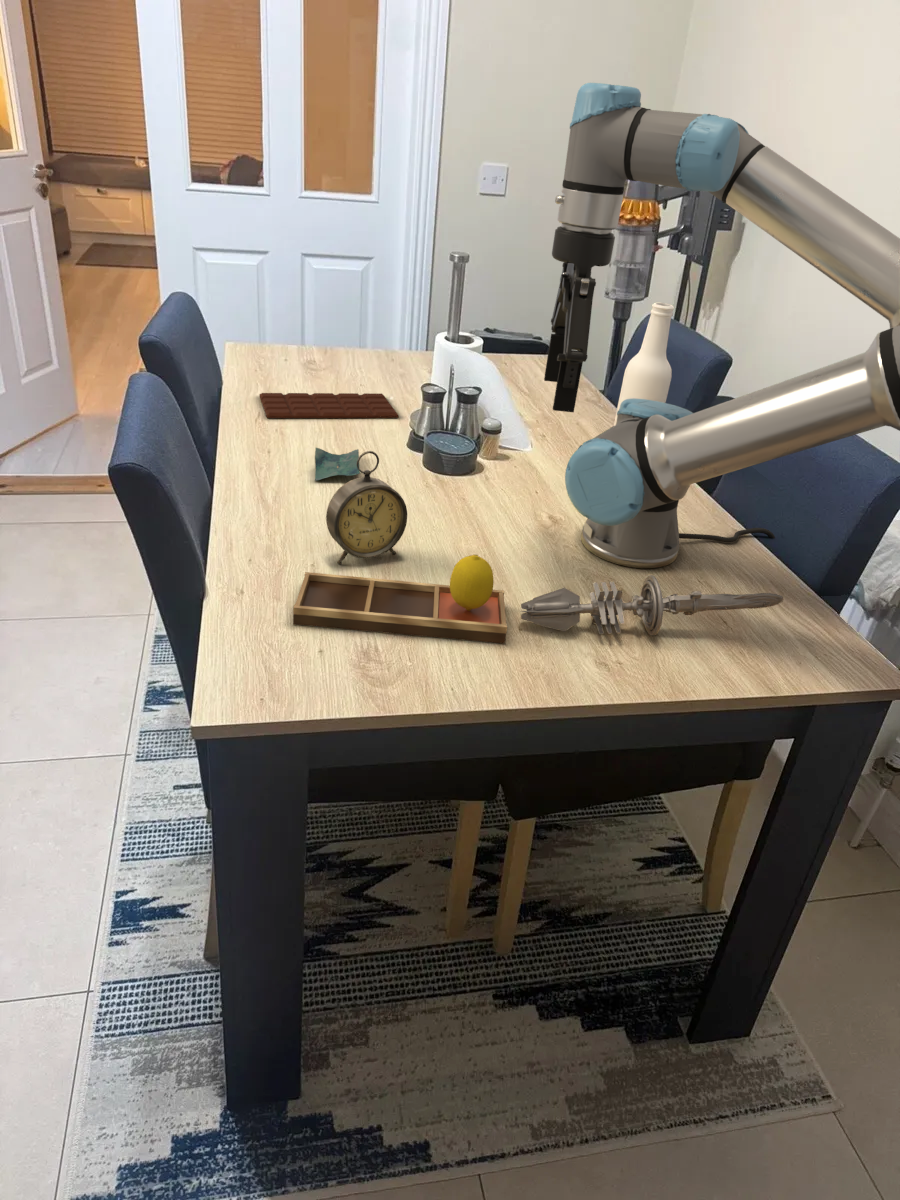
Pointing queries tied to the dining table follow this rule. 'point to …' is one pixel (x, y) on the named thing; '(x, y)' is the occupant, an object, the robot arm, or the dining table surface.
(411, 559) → the dining table surface
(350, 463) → the terrain model
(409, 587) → the wooden compartment tray
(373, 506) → the alarm clock
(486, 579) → the lemon
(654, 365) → the alcohol
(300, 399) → the chocolate bar
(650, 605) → the spaceship
